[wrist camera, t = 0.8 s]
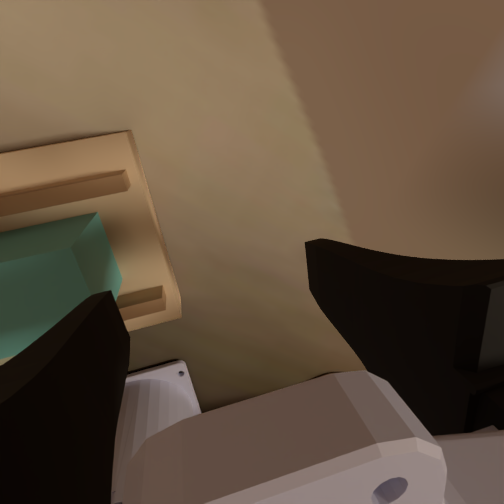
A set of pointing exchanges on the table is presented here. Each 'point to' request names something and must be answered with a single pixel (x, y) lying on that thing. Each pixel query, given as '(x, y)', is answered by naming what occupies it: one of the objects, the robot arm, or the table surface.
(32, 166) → the channel board
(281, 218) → the table surface
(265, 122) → the table surface
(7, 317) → the teal block
